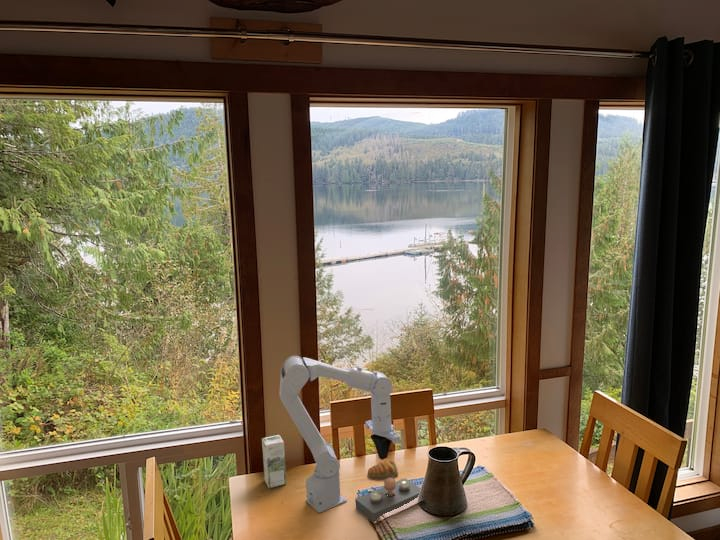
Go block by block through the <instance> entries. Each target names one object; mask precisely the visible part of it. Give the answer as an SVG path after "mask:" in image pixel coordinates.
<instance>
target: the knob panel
mask: <svg viewBox="0 0 720 540" xmlns="http://www.w3.org/2000/svg"><path fill="white" fill-rule="evenodd" d="M403 479H406V477H405V478H403ZM398 481H399V480H397V481H395V483H396V488H395V489H394V490H393V497H388V496H387V495H388V490H386V489H385V488H384V486H382V487H381V488H378V489H376V490H375V491H380V492H381V493H382V501H381V502H380V503H377V504H374V503H372V502H371V501H370V493H371V492H369V493H366V494H364V495H361V496H359V497H356V498H355V499H354V501H355V509H356V510H357V511H358V512H359V513H360V514H362V516H364V517H365V518H366V519H367V520H369V521H370V522H371V523H373V522H375V521H376V520H377V519H378V518H379V517H380V516H382V515H383V514H385V513H387V512H390V511H392V510H394V509H397V508H399V507H401V506H403V505H404V504H407V503H409V502H410V501H412V500H414V499H415V498H417V497H418V495H419V492H420V489H422V488H421V487H420V486H418V485H417V484H416V483H413V482H412V481H410V480H409V487H410V489H409V490H408V491H404V492H403V491H400V490H399V488H398Z"/></svg>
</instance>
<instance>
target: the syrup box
mask: <svg viewBox="0 0 720 540" xmlns="http://www.w3.org/2000/svg"><path fill="white" fill-rule="evenodd" d="M261 447H262V461H263V462H262V464H263V477H264V478H263V479H264V481H265V484H266V485H267V488H268V489H269V490H270V489H273V488H277V487H281V486H284V485H287V473H286V459H285V458H286V457H285V442H284V439H282V437H281V435H280V434H277V435H271V436H266V437H262V438H261Z"/></svg>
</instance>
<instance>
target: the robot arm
mask: <svg viewBox="0 0 720 540" xmlns="http://www.w3.org/2000/svg"><path fill="white" fill-rule="evenodd" d="M319 377H322V378H326V379H332V380H337V381H341V382H344V383H345V385H346V386H347V387H348V388H351V389H355V390H360V391H364V392H370V398H371V399H370V407H371V411H370V412H371V419H369V420H365V422H364V424H365V428H366V429H369V431H371V433H372V434H370V438H371V440H372V442H373V444H374V446H375V449H376V452H377V456H378V459H380V460H381V461H382V460H385V459H387V458H388V454H389V450H390V447H391V444H393V445H396V444H398V443H400V442H401V435H399V434H397V432H396V431H395V430H394V429H395V425H394V424H392V413H391V412H392V407H391V405H392V404H391V393H392V391H393V388H394V387H393V384H392V382H391V380H390V379H389V378H388V377H387V375H385V374H384V373H382V372H381V371H378V370H377V371H376V370H373V371H370V370H365V369H363V367H361V366H359V365H357V366H356V367H354V366H352V367H350V368H348V369H344V368H341V367H339V366H335V365H333V364H332V365H331V364H329V363H326V362H321V361H319V360H315V359H313V358H309V357H301V356H299V355H291V356H289V357H287V358H286V359H285V360H284V362H283V364H282V367H281V369H280V379H279V381H280V383H279V390H278V391H279V392H278V395H279V399H280V401H281V404H283V407H284V408H285V410H286V411H287V413H288V415H289V417H290V418H291V420H292V422H293V423H294V425H295V426H296V428H297V430H298V432H299V434H300V435H301V436H302V438H303V440H304V441H305V443H306V445H307V446H308V449H310V452H311V454H312V456H313V457H312V458H313V459H314V461H315V464H316V466H315V468H314V469H313V473H312V474H311V475H310V476H308V477H307V478H306V480H305V490H306V498H305V502H306V503H307V504H309V506H311V507H312V508H313V509H314V510H315V511H316V512H317V513H321V512H322V513H323V512H324V511H327V510H329V509H331V508H332V509H333V508H334V507H336V506H339V505H341V504H344V503H345V502H347V499H346V498H345V496H343V495H342V494H341V481H340V467H341V466H340V461H339V460H338V459H337V456H336V454H335V450H334V447H333V446H332V445H331V444H329V443H328V442H326V441H325V439H324V437H323V436H322V435H321V433H320V431H319V429H318V428H317V426H316V424H315V423H314V421H313V419H312V418H311V416H310V414H309V413H308V411H307V409H306V407H305V405H304V404H303V402H302V400H301V399H300V397H299V394H300V392H301V390H302V389H303V387H305V385H306V384H307V382H308V381H310V382H313V381H314V380H317V378H319Z"/></svg>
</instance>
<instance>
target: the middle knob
mask: <svg viewBox="0 0 720 540" xmlns="http://www.w3.org/2000/svg"><path fill="white" fill-rule="evenodd" d="M395 482H396V479H395V478H394V477H390V478H384V480H383V483H384V484H383V487H384V488H385V489H386V490H388V497H389V498H390V497H393V490H394V489H395V488H396V483H395Z"/></svg>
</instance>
